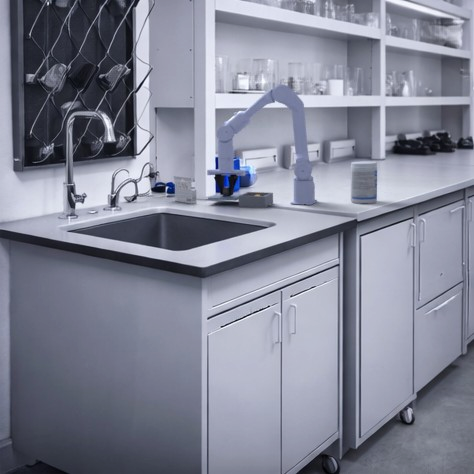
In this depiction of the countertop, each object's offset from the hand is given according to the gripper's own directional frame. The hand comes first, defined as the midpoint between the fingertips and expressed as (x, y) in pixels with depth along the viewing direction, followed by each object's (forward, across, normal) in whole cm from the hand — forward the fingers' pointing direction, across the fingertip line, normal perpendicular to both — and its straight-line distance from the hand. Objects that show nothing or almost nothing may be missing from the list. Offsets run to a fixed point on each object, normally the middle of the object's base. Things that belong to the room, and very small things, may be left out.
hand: (226, 194), depth 255 cm
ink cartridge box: (+4, +17, 0) cm, 17 cm away
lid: (+1, 0, 0) cm, 1 cm away
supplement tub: (+3, -49, -13) cm, 51 cm away
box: (+3, -12, +2) cm, 13 cm away
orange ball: (+1, -12, 0) cm, 12 cm away
